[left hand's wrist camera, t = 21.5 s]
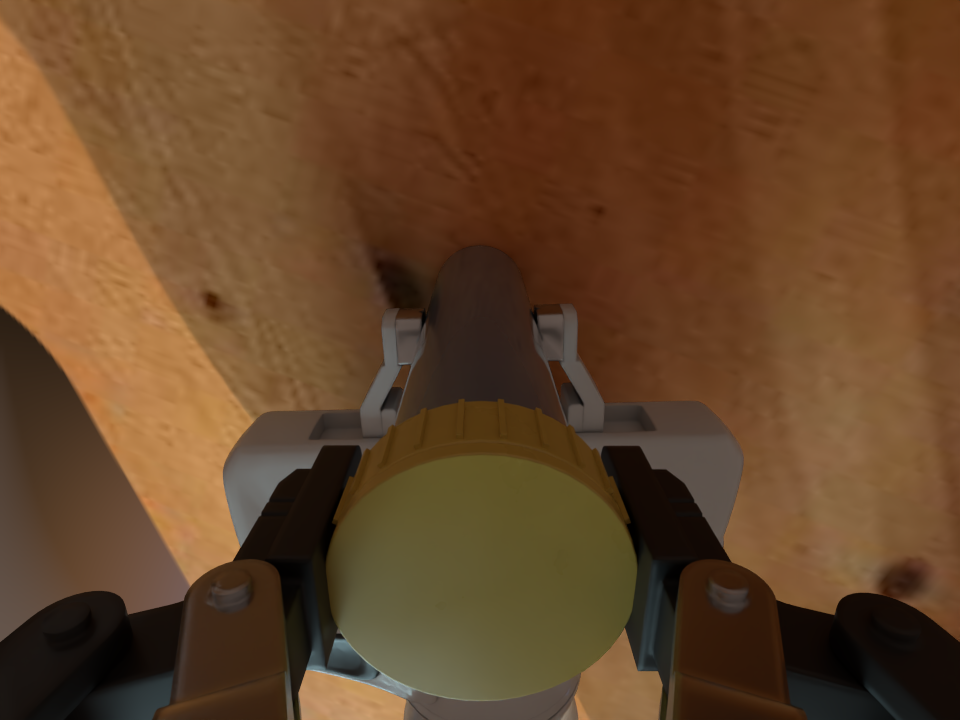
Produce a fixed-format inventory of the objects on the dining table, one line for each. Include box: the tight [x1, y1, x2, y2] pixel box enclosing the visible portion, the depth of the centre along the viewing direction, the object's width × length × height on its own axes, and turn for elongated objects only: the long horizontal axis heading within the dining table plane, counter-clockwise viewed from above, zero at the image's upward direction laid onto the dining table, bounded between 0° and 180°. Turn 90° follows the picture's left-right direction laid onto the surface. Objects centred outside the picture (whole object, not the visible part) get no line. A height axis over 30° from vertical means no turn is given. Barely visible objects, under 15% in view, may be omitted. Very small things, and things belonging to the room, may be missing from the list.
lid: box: [325, 399, 638, 701], centre depth 10 cm, size 5×5×2 cm
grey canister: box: [394, 246, 568, 427], centre depth 19 cm, size 4×4×19 cm
